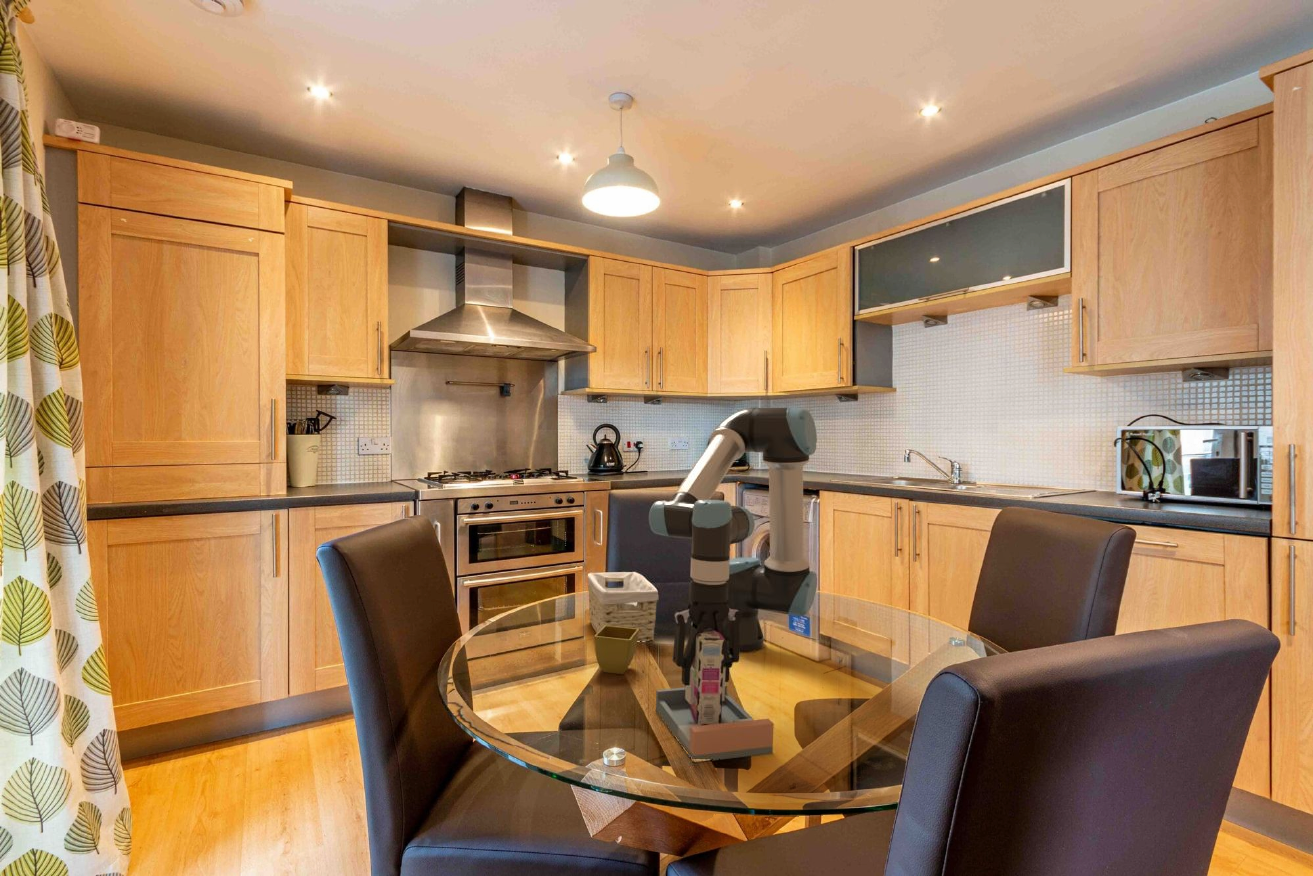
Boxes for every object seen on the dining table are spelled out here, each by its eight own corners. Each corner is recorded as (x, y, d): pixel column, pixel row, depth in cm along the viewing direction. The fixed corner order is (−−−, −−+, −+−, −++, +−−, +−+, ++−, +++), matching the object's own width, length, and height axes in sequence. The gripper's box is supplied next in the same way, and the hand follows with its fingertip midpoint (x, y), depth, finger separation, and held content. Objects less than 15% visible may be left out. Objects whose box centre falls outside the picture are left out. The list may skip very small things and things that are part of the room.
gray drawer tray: (724, 704, 130) (725, 679, 130) (772, 753, 110) (773, 723, 110) (655, 710, 126) (656, 684, 126) (693, 762, 106) (694, 732, 106)
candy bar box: (723, 727, 116) (725, 638, 116) (696, 728, 115) (698, 638, 116) (712, 702, 127) (714, 621, 127) (687, 702, 127) (689, 621, 127)
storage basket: (658, 644, 168) (660, 589, 168) (599, 647, 164) (601, 591, 164) (636, 619, 191) (638, 571, 191) (583, 621, 187) (585, 572, 187)
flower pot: (628, 679, 142) (630, 639, 142) (592, 674, 144) (593, 635, 144) (637, 666, 151) (639, 628, 151) (602, 662, 153) (604, 625, 153)
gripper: (744, 574, 128) (740, 688, 128) (657, 577, 122) (653, 696, 122) (761, 583, 121) (756, 703, 121) (670, 586, 115) (665, 712, 115)
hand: (704, 699), depth 121 cm, fingers closed on candy bar box, 6 cm apart
